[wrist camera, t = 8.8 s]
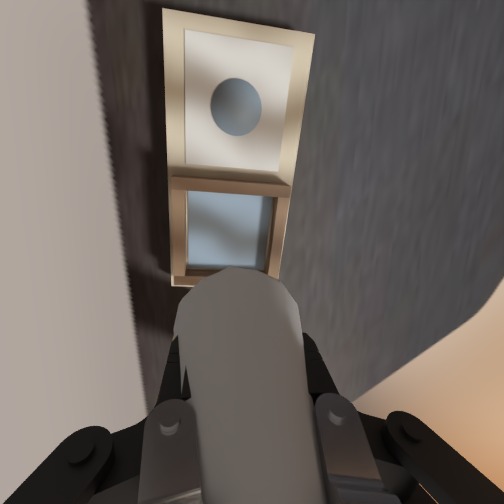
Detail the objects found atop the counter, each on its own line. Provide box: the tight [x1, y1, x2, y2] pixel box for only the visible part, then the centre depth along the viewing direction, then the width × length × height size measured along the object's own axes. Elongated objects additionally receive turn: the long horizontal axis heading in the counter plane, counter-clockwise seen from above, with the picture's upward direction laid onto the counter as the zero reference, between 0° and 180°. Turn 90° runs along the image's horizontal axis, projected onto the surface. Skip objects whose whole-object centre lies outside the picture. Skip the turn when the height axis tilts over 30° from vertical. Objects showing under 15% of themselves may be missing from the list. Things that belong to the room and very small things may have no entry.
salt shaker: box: [174, 265, 327, 504], centre depth 8 cm, size 6×6×13 cm
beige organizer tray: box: [162, 8, 315, 287], centre depth 23 cm, size 22×11×4 cm, turn 175°
